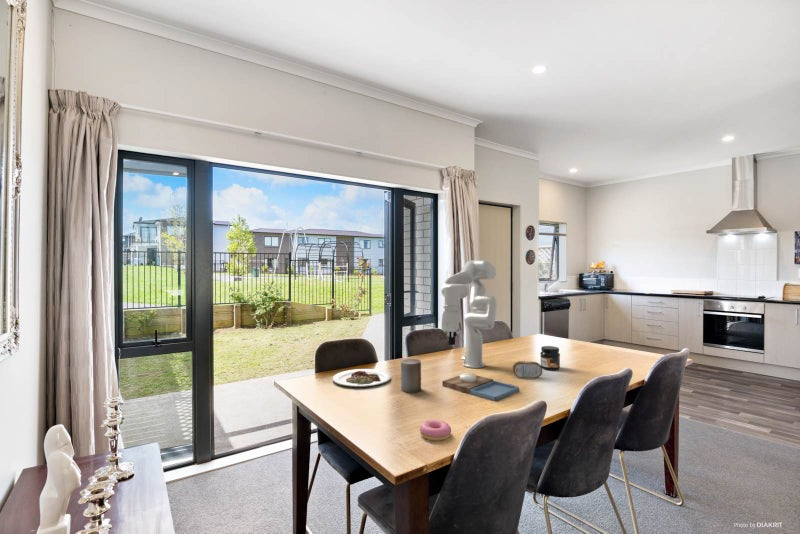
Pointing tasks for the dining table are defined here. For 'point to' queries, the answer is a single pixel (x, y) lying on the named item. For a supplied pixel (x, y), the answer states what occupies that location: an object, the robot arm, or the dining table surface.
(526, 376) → the tin
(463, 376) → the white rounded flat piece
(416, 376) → the pillar candle
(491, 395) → the tray
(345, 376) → the plated food
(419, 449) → the dining table surface
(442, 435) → the doughnut
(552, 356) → the supplement container
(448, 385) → the wooden cutting board
